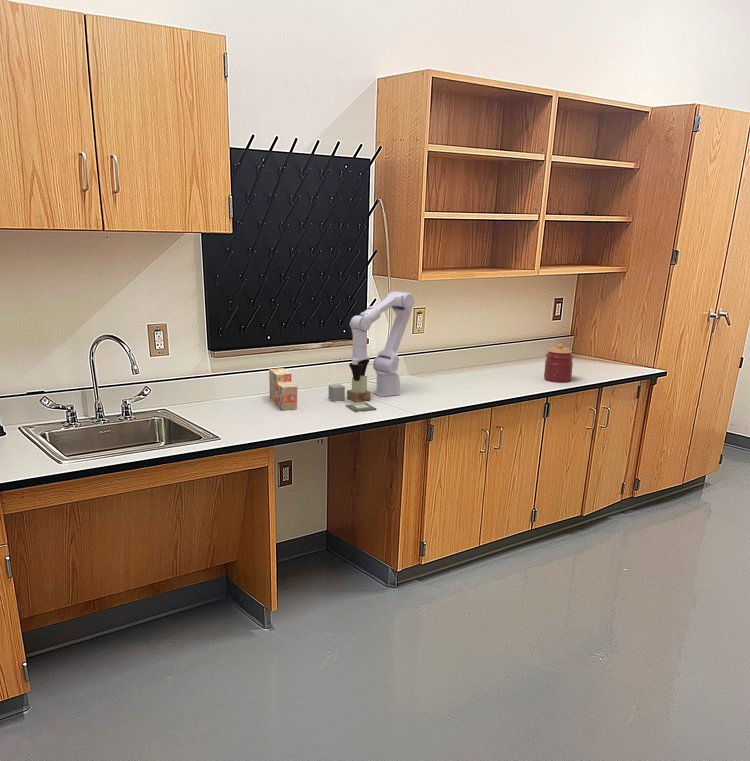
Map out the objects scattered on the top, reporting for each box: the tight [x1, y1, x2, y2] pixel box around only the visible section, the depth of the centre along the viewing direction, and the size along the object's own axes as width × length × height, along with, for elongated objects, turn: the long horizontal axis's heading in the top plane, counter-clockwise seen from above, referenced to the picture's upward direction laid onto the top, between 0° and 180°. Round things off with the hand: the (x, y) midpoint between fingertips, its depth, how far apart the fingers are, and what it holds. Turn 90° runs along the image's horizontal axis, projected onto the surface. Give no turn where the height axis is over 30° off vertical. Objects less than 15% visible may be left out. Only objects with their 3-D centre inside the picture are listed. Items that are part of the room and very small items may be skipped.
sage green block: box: [351, 375, 368, 393], centre depth 276 cm, size 5×5×6 cm
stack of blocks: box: [268, 367, 298, 411], centre depth 268 cm, size 21×6×12 cm, turn 21°
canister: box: [543, 343, 574, 383], centre depth 323 cm, size 13×13×18 cm
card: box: [345, 402, 377, 413], centre depth 265 cm, size 9×9×1 cm
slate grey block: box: [328, 383, 346, 403], centre depth 276 cm, size 5×5×6 cm
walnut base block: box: [346, 389, 372, 404], centre depth 277 cm, size 7×7×4 cm
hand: (359, 378), depth 275 cm, fingers open, 7 cm apart
